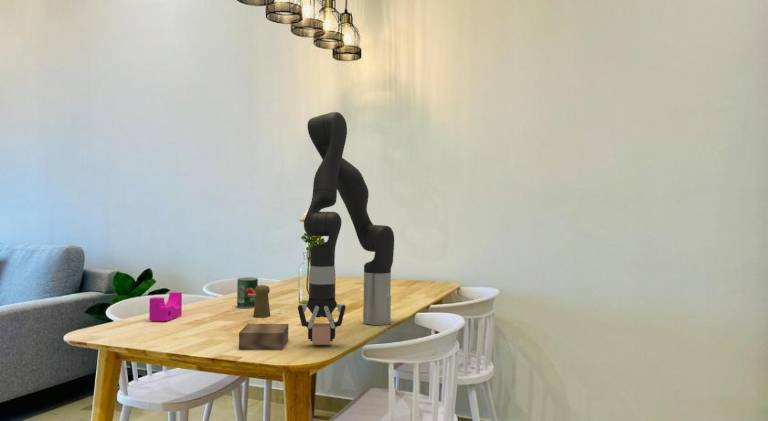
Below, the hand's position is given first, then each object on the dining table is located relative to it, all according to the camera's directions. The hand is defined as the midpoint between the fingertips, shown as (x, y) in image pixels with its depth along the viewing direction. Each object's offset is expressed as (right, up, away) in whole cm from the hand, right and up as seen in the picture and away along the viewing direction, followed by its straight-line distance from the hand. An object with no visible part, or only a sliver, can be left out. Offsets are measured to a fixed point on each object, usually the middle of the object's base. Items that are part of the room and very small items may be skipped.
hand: (321, 340), depth 159 cm
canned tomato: (-36, -1, +60) cm, 70 cm away
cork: (-26, -1, +42) cm, 49 cm away
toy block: (-59, -1, +39) cm, 70 cm away
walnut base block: (-16, -1, 0) cm, 16 cm away
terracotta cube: (0, 0, 0) cm, 0 cm away
